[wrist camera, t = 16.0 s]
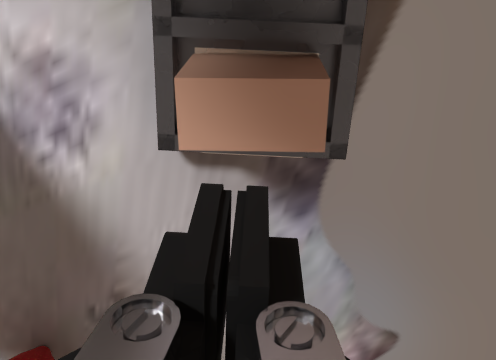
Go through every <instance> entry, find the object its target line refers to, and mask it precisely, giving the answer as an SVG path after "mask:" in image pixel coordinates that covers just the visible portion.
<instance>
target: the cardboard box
mask: <svg viewBox="0 0 496 360" xmlns="http://www.w3.org/2000/svg"><path fill="white" fill-rule="evenodd" d="M174 84H175V99H176V114H177V129H178V144H179V150H200V151H269V152H325V144H326V130H327V117H328V103H329V90H330V78H329V76H328V74H327V72H326V70H325V68H324V66H323V64H322V62H321V60H320V58H319V56H318V54H193V55H192V56H191V57H190V58H189V60H188V61H187V62H186V63H185V65H184V66H183V67H182V68H181V70H180V71H179V72H178V73H177V75H176V76H175V77H174Z"/></svg>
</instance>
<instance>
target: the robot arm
mask: <svg viewBox="0 0 496 360" xmlns="http://www.w3.org/2000/svg"><path fill="white" fill-rule="evenodd" d="M230 231H231V190H224V187H223V184H205V183H202V184H201V187H200V190H199V194H198V197H197V201H196V205H195V208H194V212H193V215H192V219H191V223H190V226H189V230H188V233H182V232H166V233H165V235H164V237H163V240H162V243H161V245H160V248H159V251H158V254H157V257H156V259H155V262H154V265H153V268H152V271H151V273H150V276H149V279H148V282H147V284H146V287H145V290H144V293H143V294H138V295H132V296H129V297H127V298H124V299H121V300H120V301H118V302H117V303H115V304H113V305H112V306H111V307H110V308H109V309H108V310H107V311H106V312H105V314H104V315H103V317H102V318H101V320H100V321H99V323H98V324H97V326H96V327H95V329H94V330H93V332H92V333H91V335H90V336H89V338H88V339H87V341H86V342H85V344H84V345H83V347H81V348H79V349H77V350H75V351H74V352H72V353H70V354H68V355H66V356H64V357H62V358H60V359H58V360H221V354H222V345H223V336H224V327H225V318H226V347H225V360H350V359H348V358H347V357H346V356H344V353H343V351H342V348H341V345H340V343H339V340H338V338H337V335H336V332H335V330H334V327H333V325H332V323H331V322H330V320H329V318H328V317H327V316H326V315H325V314H324V313H323V312H322V311H320V310H319V309H317V308H315V307H313V306H311V305H309V304H305V299H304V290H303V281H302V272H301V263H300V254H299V246H298V239H297V238H280V237H269V211H268V187H266V186H247V190H246V191H238V195H237V204H236V213H235V221H234V230H233V239H232V247H231V256H230Z"/></svg>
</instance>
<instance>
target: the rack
mask: <svg viewBox="0 0 496 360" xmlns="http://www.w3.org/2000/svg"><path fill="white" fill-rule="evenodd" d="M367 1H368V0H152V21H153V43H154V65H155V87H156V109H157V132H158V150H169V151H189V152H201V153H216V154H235V155H255V156H275V157H294V158H303V157H306V158H326V159H346V153H347V146H348V139H349V132H350V125H351V117H352V110H353V103H354V96H355V88H356V81H357V74H358V67H359V59H360V52H361V45H362V38H363V30H364V23H365V16H366V9H367ZM193 54H318V56H319V58H320V60H321V62H322V64H323V66H324V68H325V70H326V72H327V74H328V76H329V78H330V90H329V103H328V117H327V130H326V144H325V152H269V151H200V150H179V144H178V129H177V114H176V99H175V84H174V77H175V76H176V75H177V73H178V72H179V71H180V70H181V68H182V67H183V66H184V65H185V63H186V62H187V61H188V60H189V58H190V57H191V56H192V55H193Z"/></svg>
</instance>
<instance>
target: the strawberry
mask: <svg viewBox="0 0 496 360" xmlns="http://www.w3.org/2000/svg"><path fill="white" fill-rule="evenodd" d="M9 360H55V359H54V358H53V356H52V354H51V351H50V349H49V348H48V347H46V346H39V347H36V348H35V349H32V350H29V351H26V352H23V353H21V354H19V355H17V356H15V357H13V358H11V359H9Z"/></svg>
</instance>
